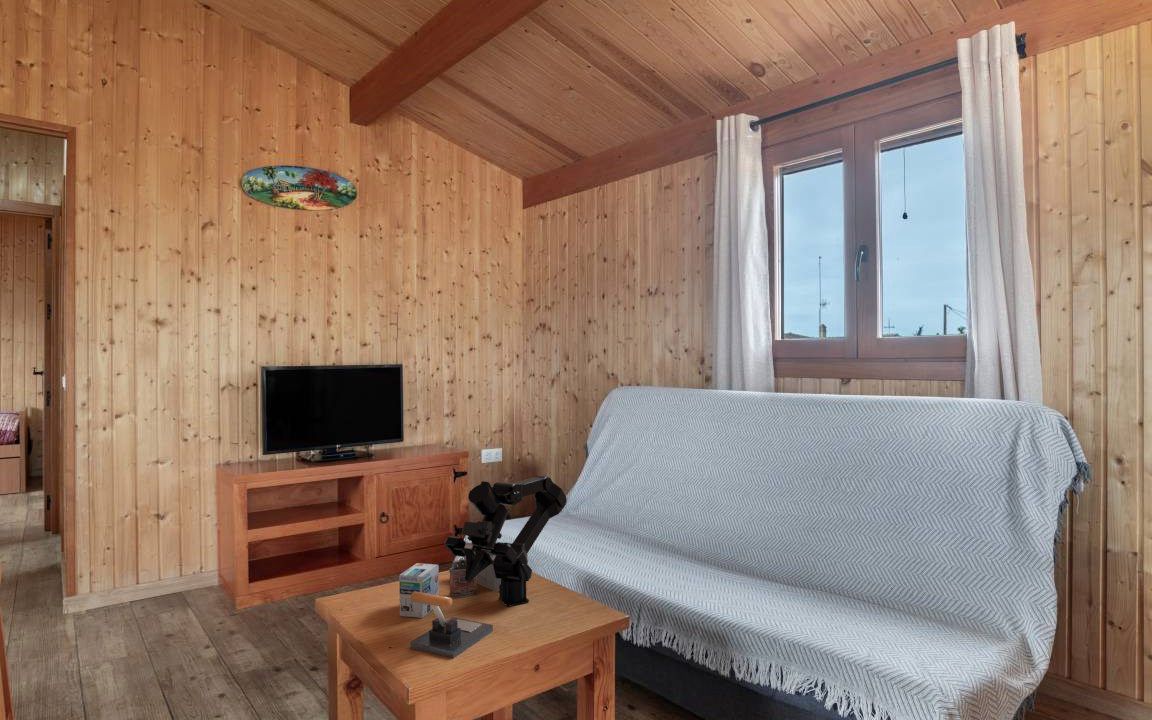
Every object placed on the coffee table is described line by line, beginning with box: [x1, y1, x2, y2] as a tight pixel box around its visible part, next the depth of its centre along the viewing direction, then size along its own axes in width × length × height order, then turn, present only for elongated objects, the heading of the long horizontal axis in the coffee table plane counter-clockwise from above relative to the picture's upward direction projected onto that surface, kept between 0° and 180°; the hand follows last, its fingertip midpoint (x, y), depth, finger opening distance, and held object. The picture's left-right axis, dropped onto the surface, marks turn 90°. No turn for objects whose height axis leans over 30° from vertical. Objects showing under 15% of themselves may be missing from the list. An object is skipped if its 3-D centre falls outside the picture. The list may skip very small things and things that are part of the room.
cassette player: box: [463, 556, 501, 592], centre depth 196 cm, size 16×3×10 cm, turn 43°
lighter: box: [448, 557, 479, 599], centre depth 187 cm, size 8×3×10 cm, turn 114°
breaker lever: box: [411, 591, 453, 626], centre depth 152 cm, size 2×10×10 cm
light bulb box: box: [398, 562, 440, 619], centre depth 175 cm, size 11×7×11 cm, turn 168°
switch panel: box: [409, 616, 494, 659], centre depth 157 cm, size 16×12×6 cm
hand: (467, 580), depth 162 cm, fingers closed
